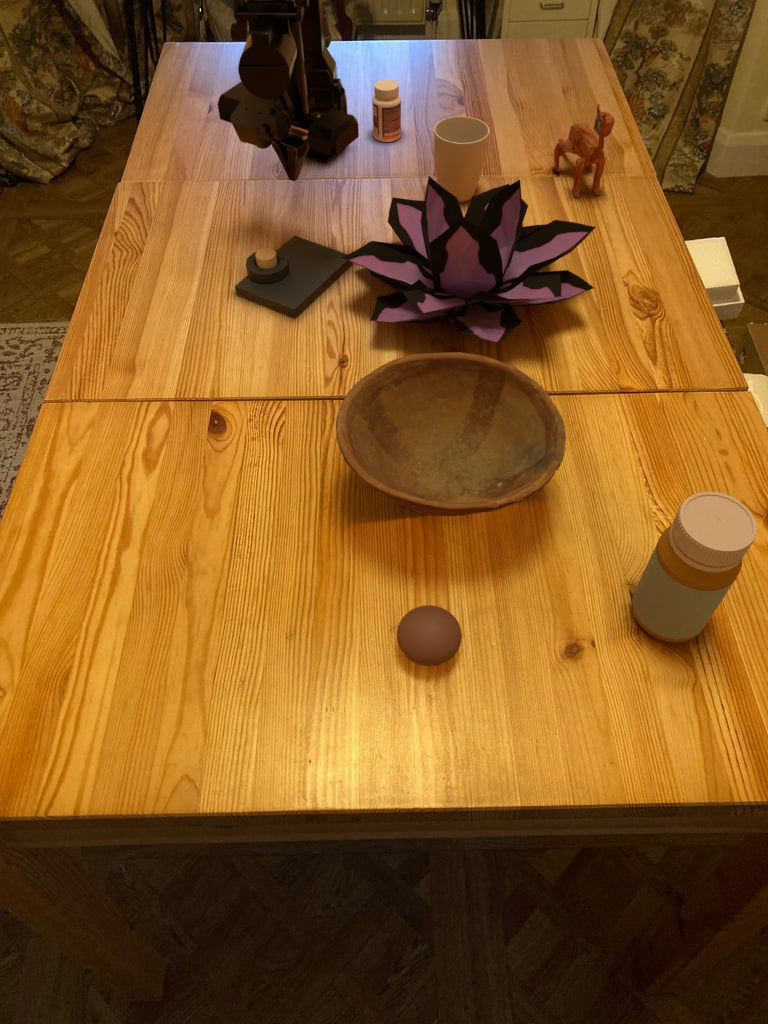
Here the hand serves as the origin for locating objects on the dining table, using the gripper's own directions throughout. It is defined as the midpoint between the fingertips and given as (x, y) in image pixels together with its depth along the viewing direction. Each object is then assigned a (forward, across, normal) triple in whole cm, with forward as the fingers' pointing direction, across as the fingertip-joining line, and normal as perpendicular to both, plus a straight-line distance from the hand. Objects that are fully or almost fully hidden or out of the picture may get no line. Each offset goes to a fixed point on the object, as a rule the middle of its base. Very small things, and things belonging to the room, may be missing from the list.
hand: (294, 179), depth 106 cm
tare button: (+7, +2, -10) cm, 12 cm away
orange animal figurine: (+10, +27, +38) cm, 47 cm away
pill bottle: (+10, -5, +33) cm, 35 cm away
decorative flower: (+9, +27, +1) cm, 29 cm away
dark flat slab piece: (+9, +5, -8) cm, 13 cm away
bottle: (+8, +67, -33) cm, 75 cm away
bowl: (+8, +41, -30) cm, 52 cm away
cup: (+10, +14, +23) cm, 28 cm away
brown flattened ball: (+8, +49, -48) cm, 69 cm away
